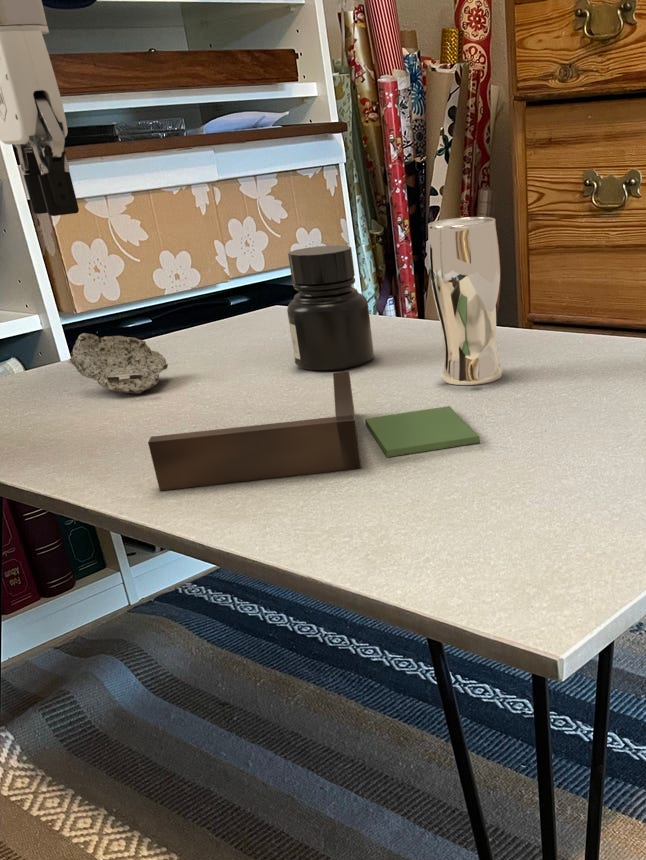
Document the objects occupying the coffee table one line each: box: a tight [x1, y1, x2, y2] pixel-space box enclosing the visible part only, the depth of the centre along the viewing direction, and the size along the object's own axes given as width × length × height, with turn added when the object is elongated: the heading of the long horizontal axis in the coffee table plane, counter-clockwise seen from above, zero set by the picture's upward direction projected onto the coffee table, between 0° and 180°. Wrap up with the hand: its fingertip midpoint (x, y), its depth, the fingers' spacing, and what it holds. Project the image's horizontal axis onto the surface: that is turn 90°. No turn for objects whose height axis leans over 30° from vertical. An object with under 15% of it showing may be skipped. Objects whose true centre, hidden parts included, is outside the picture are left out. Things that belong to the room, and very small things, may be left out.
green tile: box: [364, 405, 481, 458], centre depth 86 cm, size 8×10×1 cm
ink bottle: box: [286, 244, 375, 371], centre depth 108 cm, size 10×9×12 cm
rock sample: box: [67, 331, 169, 395], centre depth 106 cm, size 10×8×9 cm
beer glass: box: [427, 216, 503, 386], centre depth 98 cm, size 7×7×15 cm
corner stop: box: [147, 370, 362, 492], centre depth 84 cm, size 16×16×4 cm
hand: (55, 211), depth 108 cm, fingers open, 4 cm apart
